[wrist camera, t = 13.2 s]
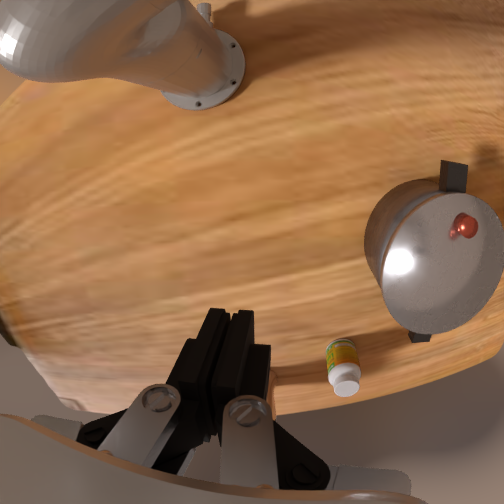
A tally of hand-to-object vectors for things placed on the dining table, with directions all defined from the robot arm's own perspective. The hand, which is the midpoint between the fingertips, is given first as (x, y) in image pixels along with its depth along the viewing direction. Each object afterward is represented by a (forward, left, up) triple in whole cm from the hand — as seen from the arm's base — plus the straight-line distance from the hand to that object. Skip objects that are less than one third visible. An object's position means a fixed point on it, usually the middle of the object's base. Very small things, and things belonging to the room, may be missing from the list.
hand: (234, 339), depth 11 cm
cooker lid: (+6, +22, -21) cm, 31 cm away
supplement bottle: (+27, +12, -31) cm, 43 cm away
